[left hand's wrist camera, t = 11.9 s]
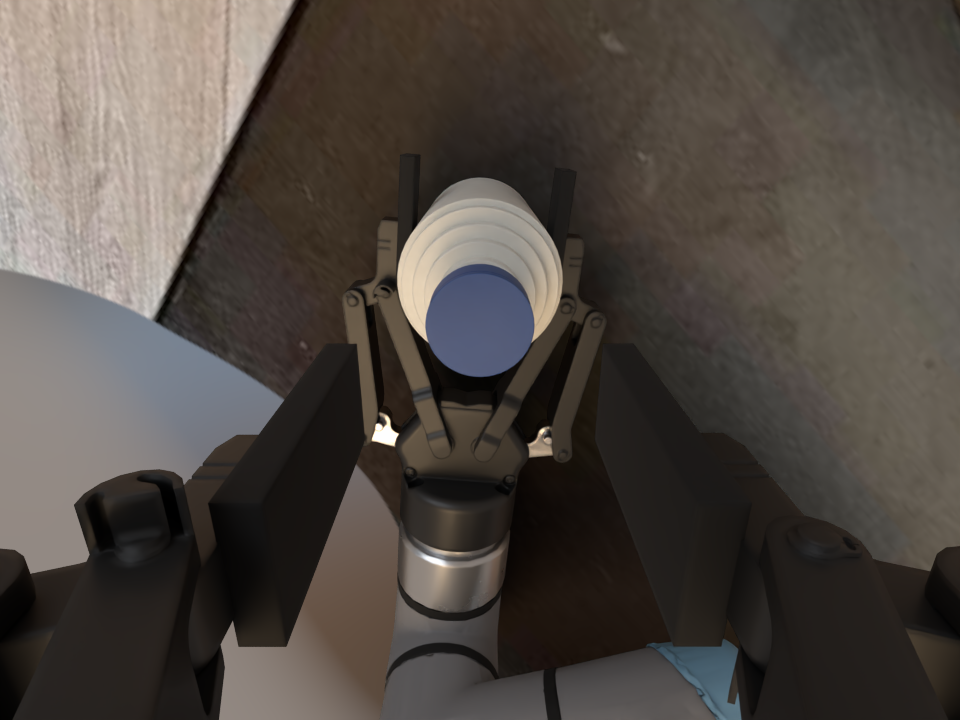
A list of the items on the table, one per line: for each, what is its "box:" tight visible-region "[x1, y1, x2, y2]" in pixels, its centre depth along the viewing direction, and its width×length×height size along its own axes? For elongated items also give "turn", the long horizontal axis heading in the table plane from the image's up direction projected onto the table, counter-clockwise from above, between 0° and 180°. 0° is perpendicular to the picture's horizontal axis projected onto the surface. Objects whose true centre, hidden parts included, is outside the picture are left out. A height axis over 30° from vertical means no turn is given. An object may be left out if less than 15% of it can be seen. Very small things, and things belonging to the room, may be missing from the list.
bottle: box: [397, 178, 563, 343], centre depth 29 cm, size 7×7×19 cm
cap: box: [425, 264, 535, 377], centre depth 20 cm, size 4×4×2 cm
